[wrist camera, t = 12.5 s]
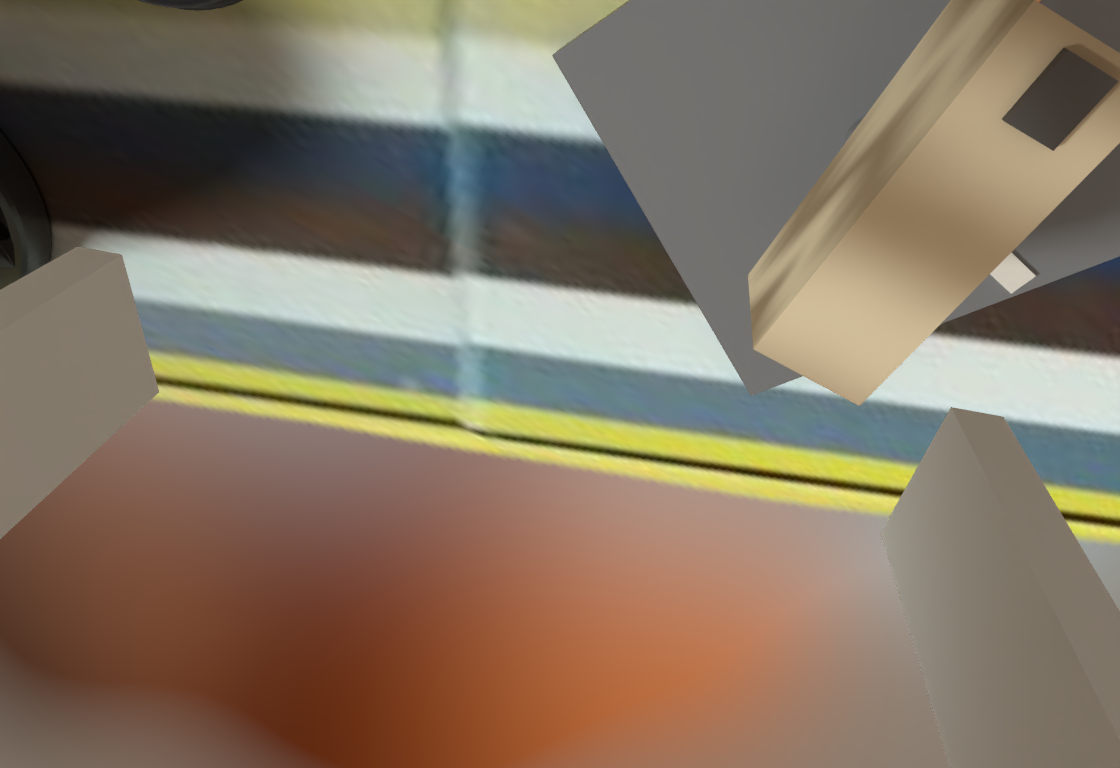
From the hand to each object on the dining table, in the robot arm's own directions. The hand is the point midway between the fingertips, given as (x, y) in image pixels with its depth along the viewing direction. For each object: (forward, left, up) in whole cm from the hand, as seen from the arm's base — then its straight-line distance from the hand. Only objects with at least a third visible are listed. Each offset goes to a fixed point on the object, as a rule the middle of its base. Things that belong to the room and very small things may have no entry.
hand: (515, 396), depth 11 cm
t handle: (+7, -7, -19) cm, 21 cm away
